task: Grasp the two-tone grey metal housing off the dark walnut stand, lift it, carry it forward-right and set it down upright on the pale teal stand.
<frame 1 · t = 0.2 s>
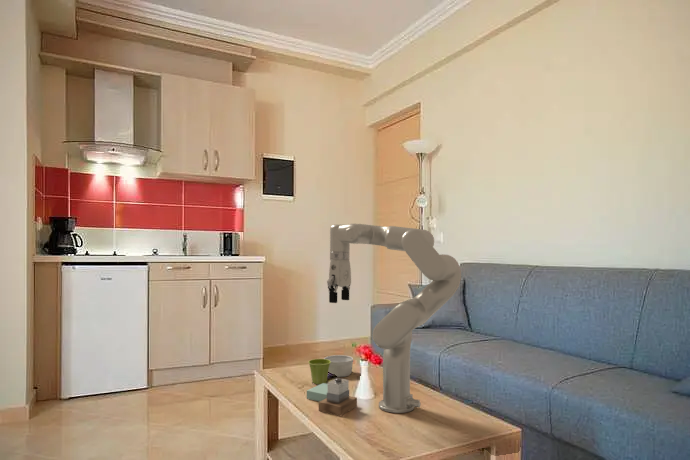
hand: (339, 301, 177), 36 cm above the table, tool pointing down, fingers open, 9 cm apart
housing: (338, 399, 162), point 3 cm above the table, touching stand walnut
stand teal: (324, 396, 175), on the table
stand walnut: (338, 408, 162), on the table
plant pot: (319, 382, 193), on the table
ramekin: (338, 374, 206), on the table
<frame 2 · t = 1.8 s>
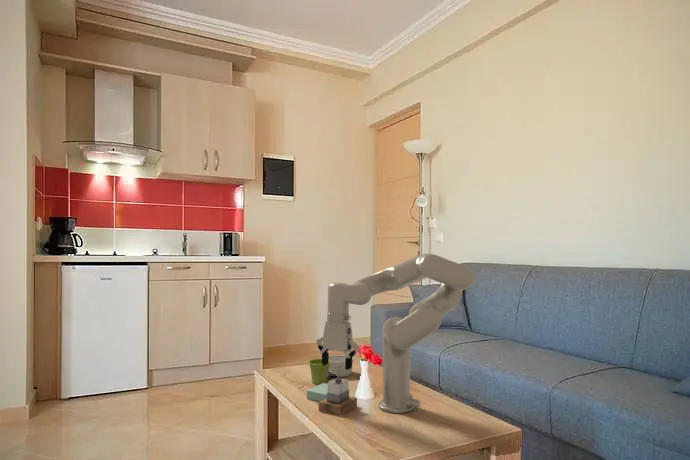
hand: (336, 366, 163), 15 cm above the table, tool pointing down, fingers open, 9 cm apart
nothing on the table moved.
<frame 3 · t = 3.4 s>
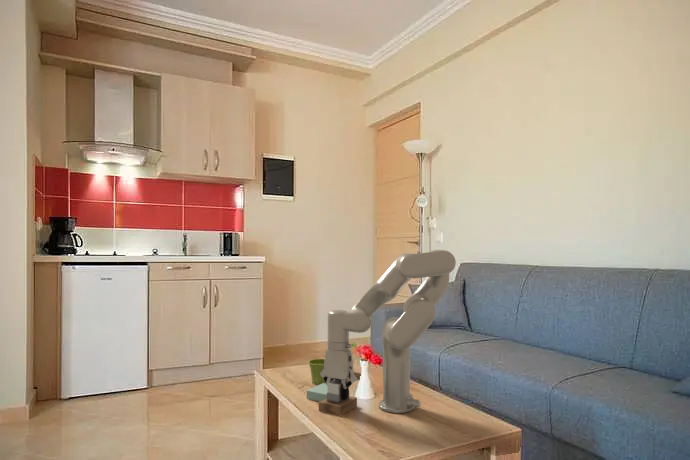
hand: (338, 397, 162), 4 cm above the table, tool pointing down, fingers closed on housing, 5 cm apart
housing: (338, 399, 162), point 3 cm above the table, touching gripper, stand walnut
everything else where it was.
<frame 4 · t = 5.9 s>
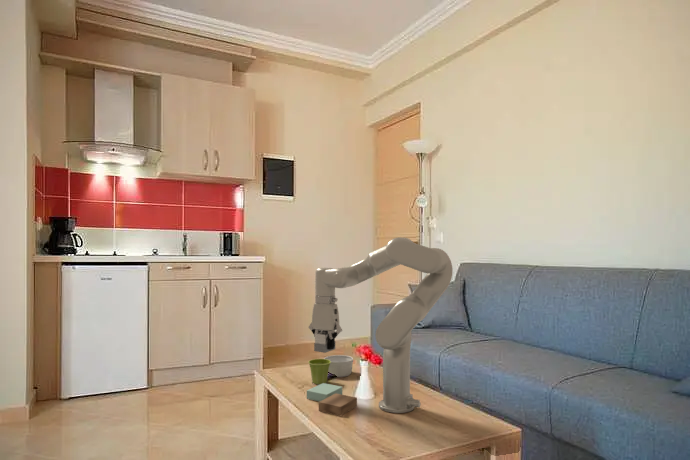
hand: (325, 347, 175), 18 cm above the table, tool pointing down, fingers closed on housing, 5 cm apart
housing: (324, 350, 175), point 18 cm above the table, touching gripper
everything else where it was.
when the fingers open (5 cm above the table, at t = 8.5 s): housing drops 1 cm, resting on stand teal.
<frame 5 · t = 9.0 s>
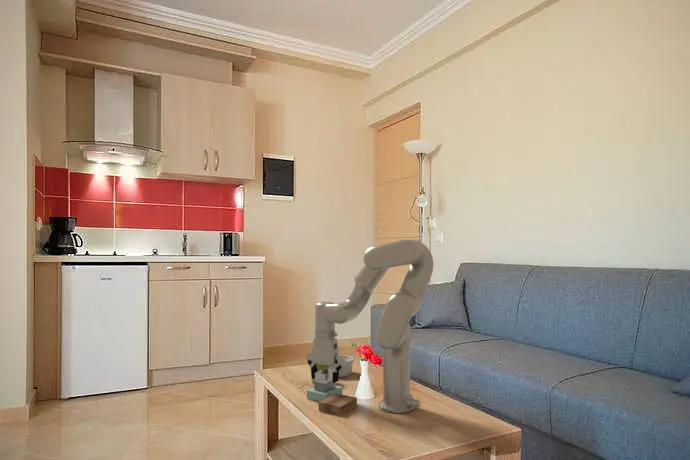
hand: (324, 379, 175), 6 cm above the table, tool pointing down, fingers open, 9 cm apart
housing: (325, 388, 175), point 3 cm above the table, touching stand teal
everything else where it was.
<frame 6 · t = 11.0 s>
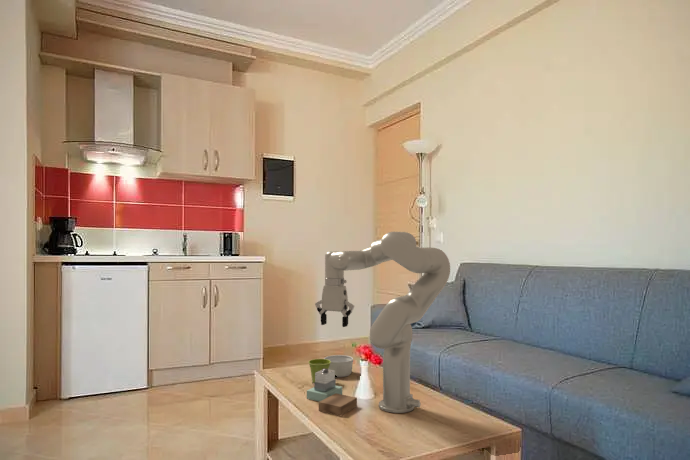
hand: (334, 325, 183), 26 cm above the table, tool pointing down, fingers open, 9 cm apart
nothing on the table moved.
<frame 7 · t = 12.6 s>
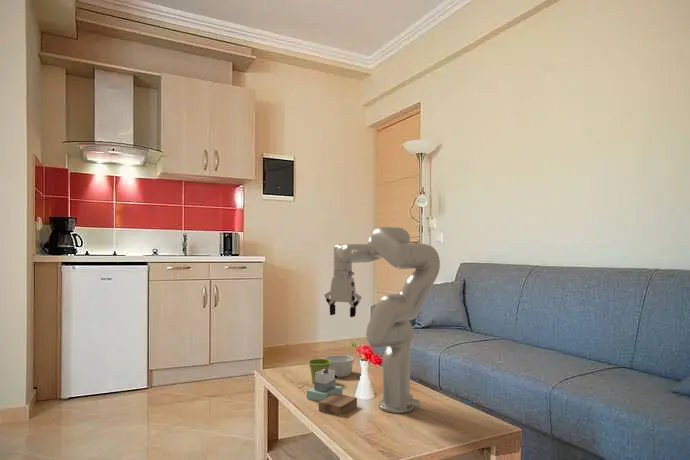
hand: (342, 315, 191), 28 cm above the table, tool pointing down, fingers open, 9 cm apart
nothing on the table moved.
at the end: housing inside the target area on the stand teal (0.2 cm from its centre), point 3.0 cm above the stand teal's base; housing tilted 0°; the gripper is holding nothing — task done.
